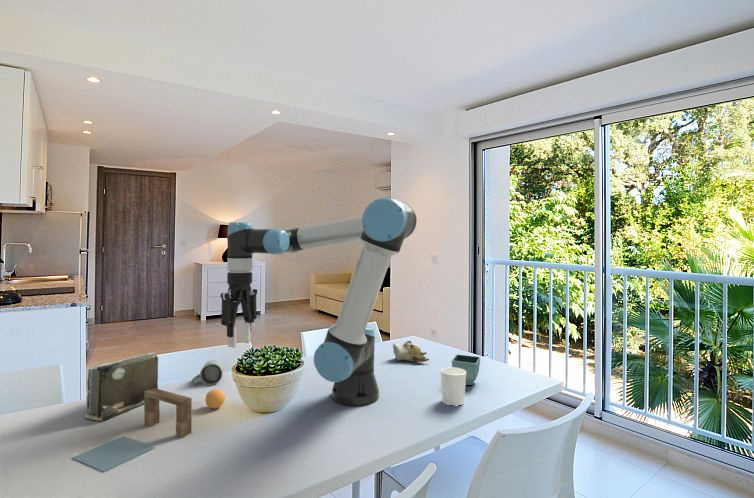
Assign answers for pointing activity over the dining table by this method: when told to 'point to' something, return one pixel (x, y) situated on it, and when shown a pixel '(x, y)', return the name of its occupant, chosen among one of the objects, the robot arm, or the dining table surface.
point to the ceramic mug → (210, 373)
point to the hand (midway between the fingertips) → (239, 344)
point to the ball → (215, 398)
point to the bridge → (180, 401)
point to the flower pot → (467, 366)
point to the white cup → (453, 385)
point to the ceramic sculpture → (409, 352)
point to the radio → (120, 385)
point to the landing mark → (113, 453)
